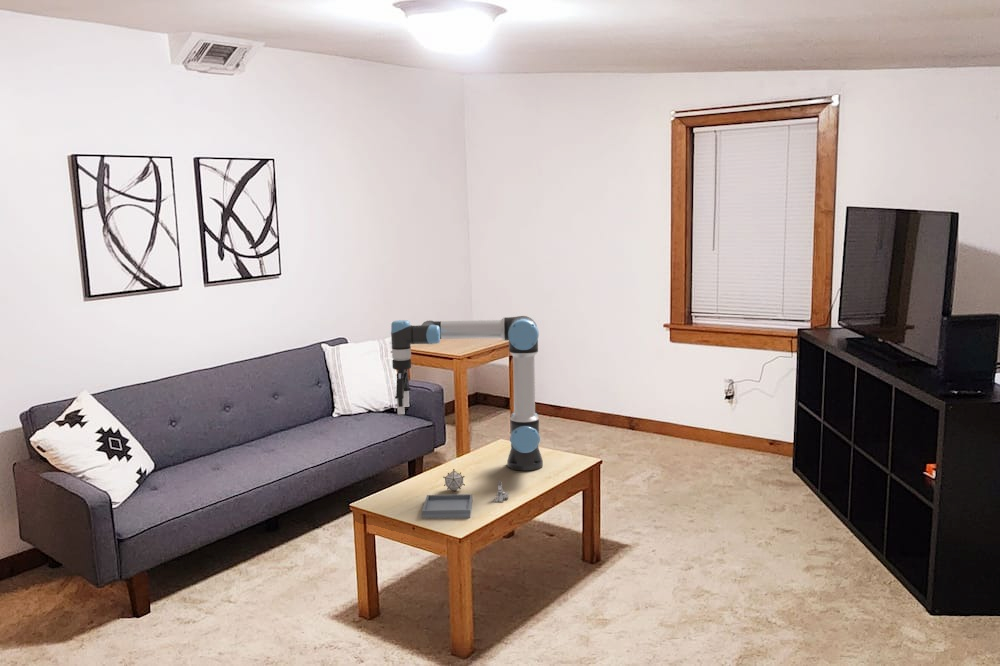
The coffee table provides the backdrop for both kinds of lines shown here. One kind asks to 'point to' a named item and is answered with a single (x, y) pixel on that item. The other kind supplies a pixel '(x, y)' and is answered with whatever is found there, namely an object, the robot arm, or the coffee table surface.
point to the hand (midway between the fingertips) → (403, 410)
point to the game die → (454, 480)
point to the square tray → (447, 506)
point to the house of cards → (500, 494)
